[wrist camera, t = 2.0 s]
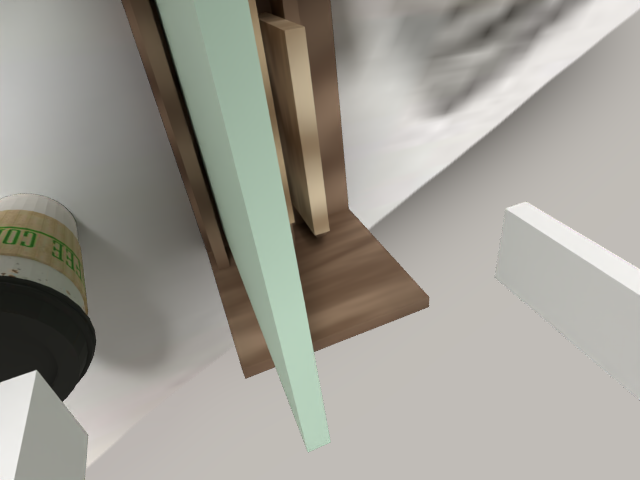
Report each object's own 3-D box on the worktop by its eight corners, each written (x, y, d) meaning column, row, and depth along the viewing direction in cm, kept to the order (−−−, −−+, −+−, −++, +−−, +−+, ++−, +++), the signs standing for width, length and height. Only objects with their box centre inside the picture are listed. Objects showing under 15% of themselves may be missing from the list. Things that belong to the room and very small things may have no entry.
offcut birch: (250, 15, 30) (284, 30, 24) (266, 11, 30) (304, 26, 24) (282, 189, 38) (314, 235, 32) (295, 186, 38) (329, 230, 32)
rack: (56, -192, 23) (-13, -358, 11) (302, -207, 26) (461, -347, 14) (207, 252, 40) (245, 378, 28) (343, 210, 44) (428, 307, 32)
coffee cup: (115, 190, 34) (114, 311, 23) (87, 288, 38) (73, 436, 26) (-41, 153, 29) (-147, 284, 17) (-57, 270, 33) (-154, 445, 21)
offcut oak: (175, -109, 25) (201, -138, 17) (196, -111, 25) (230, -141, 18) (242, 168, 36) (277, 227, 28) (256, 164, 36) (294, 222, 28)
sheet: (115, -126, 24) (108, -334, 7) (138, -128, 24) (185, -333, 7) (222, 228, 38) (307, 452, 21) (235, 224, 38) (330, 442, 21)
